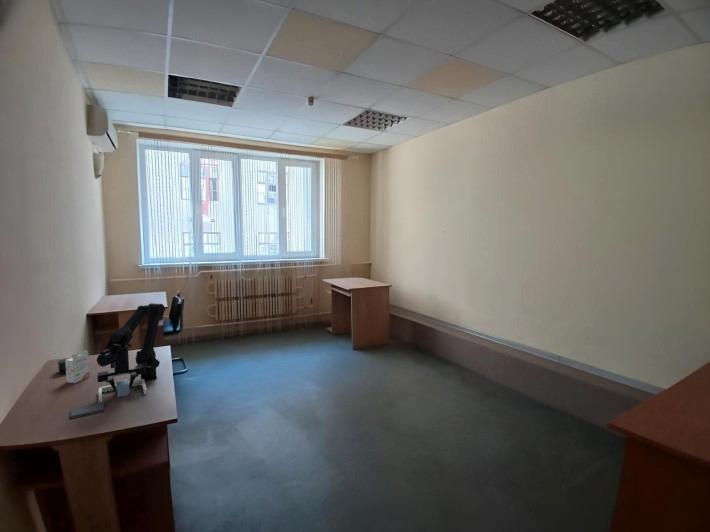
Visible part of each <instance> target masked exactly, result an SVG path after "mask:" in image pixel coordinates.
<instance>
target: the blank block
mask: <svg viewBox="0 0 710 532" xmlns="http://www.w3.org/2000/svg"><path fill="white" fill-rule="evenodd" d="M128 382H129V380H128V379H127V378H125V379H120V380H116V382H115V384H116V390H117V391H116V395H117V398H121V397H125V396H129V395H130V389H129V383H128ZM128 394H129V395H128ZM124 395H125V396H124ZM120 396H121V397H120Z"/></svg>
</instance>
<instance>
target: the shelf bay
mask: <svg viewBox="0 0 710 532" xmlns="http://www.w3.org/2000/svg"><path fill="white" fill-rule="evenodd" d="M129 382H130V381H128V383H129ZM141 384H142V385H141ZM137 385H139V386H141V389H142V388H143V389H142V391H143V392H144V393H143V395H144V394H145V395H147V394H148V389H147V385H146V381H144V379H141V378H139V379H134V381H133V384H132V386H134V387H137ZM132 386H131V388H132ZM115 387H116V383H115ZM111 390H114V389H113V387H112V386H111V385H110V384H109V385H106V386H100V387H98V403H99V402H103V393H102V392H104V393H108V392H107V391H109V392H112V391H111Z"/></svg>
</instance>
